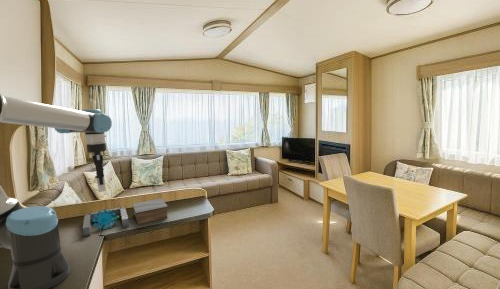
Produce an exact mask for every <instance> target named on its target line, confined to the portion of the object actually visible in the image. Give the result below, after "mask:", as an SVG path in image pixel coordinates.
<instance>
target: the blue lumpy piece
mask: <svg viewBox="0 0 500 289" xmlns="http://www.w3.org/2000/svg"><path fill="white" fill-rule="evenodd" d="M107 210H109V212H108V213H111V212H112V211H111V210H110V209H103V210H99V211H97V212H98V214H99V217H97V214H95V215H94V217H95V218H97V219H98V220H95V219H93V221H92V222H91V223H93V226H94V227H95V228H96V227H97V229H98V230H100V229H101V228H102V229H103V230H107V226H108V228H112V227H113V225H115V224H116V222H117V220H119V219H120V216H117V217H112V216H111V215H113V216H115V212H114V213H112V214H108V213H105V212H106V211H107ZM101 211H103V214H101ZM111 223H112V224H111Z"/></svg>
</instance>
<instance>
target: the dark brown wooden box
mask: <svg viewBox="0 0 500 289" xmlns="http://www.w3.org/2000/svg"><path fill="white" fill-rule="evenodd" d="M132 207H133V210H134V213H133V214H134V218H135V220H136V222H137V224H138V225H140V224H144V223H148V222H154V221H156V220H158V221H159V220H162V219H166V218H168V209H167V208H168V207H169V206H168V204H167V203H166V202H165V201H164V199H163V198H161V197H160V198H155V199H150V200H144V201H139V202H135V203H132Z"/></svg>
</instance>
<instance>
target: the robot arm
mask: <svg viewBox="0 0 500 289" xmlns="http://www.w3.org/2000/svg"><path fill="white" fill-rule="evenodd" d="M0 123H3V124H13V125H20V126H21V125H23V126H31V127H40V128H41V127H42V128H48V129H49V128H50V129H51V128H52V129H54V130H55V131H56V132H57V133H58V134H71V133H84V138H85V139H84V140H85V143H86V150H87V153H92V154H93V155H92V160H93V164H94V166H95V174H96V175H95V179H96V184H97V188H98V189H97V190H98V193H102V192H106V191H107V190H106V183H105V182H106V181H105V172H104V167H103V165H104V157H103V156H104V155H103V154H101V153H102V152H105V151H107V144H106V143H105V142H106V137H107V134H105V133H107V132H109V131H110V130H111V128H112V124H113V122H112V119H111V117H110V116H109V114H106V113H103V112H102V110H101V109H100V108H99V109H98V108H97V109H95V108H94V109H88V108H87V109H82V110H77V109H73V108H69V107H63V106H57V105H51V104H47V103H42V102H41V103H40V102H36V101H33V100H32V101H31V100H28V99H21V98H17V97H16V98H15V97H10V96H7V95H2V94H1V93H0ZM0 248H2V249H7V250H9V251H10V254H11V260H12V269H11V273H10V276H9V280H8V284H7V288H8V289H49V288H50V289H52V288H53V287H56V286H57V285H59V284H60V283H61V282H63V281H64V280H65V279H66V278H67V277H68V276H69V275H70V273H71V266H70V263H69V261H68V259H67V257H66V256H65V255H64V253H63V251H62V247H61V239H60V231H59V218H58V215H57V213H56V210H55V209H54V208H52V207H50V206H46V205H45V206H44V205H38V206H35V205H33V206H27V207H22V205H21V204H20V202H19V201H18V198H15V197H10V196H8V195H7V193H6V192H5V190H4V189H3V187H2V186H1V185H0ZM51 287H52V288H51Z"/></svg>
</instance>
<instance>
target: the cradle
mask: <svg viewBox="0 0 500 289" xmlns="http://www.w3.org/2000/svg"><path fill="white" fill-rule="evenodd" d="M106 210H107V211H106V212H105V213H108V212H109V210H111V211H112V212H111V213H108V214H112V213H114V212H115V216H113V215H111V216H112V217H117V216H119V217H120V219H121V224H122V225H121V226H122V228H127V227H130V226H129V217H128V212H127V209H126V206H121V207H117V208H116V207H115V208H109V209H106ZM100 211H101V214H103V210H100ZM95 214H97V217H99V214H98V211H95V212H91V213H90V212H89V213H84V218H83V223H82V224H83V225H82V235H83V238H85V237H89V236H91V232H92V223H93V222H92V221H93V219H95V220H98V219H97V218H95V217H94V215H95Z"/></svg>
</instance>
